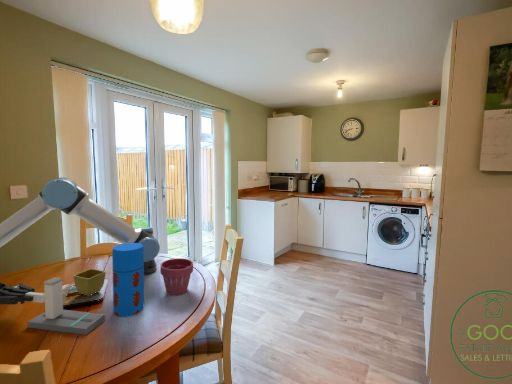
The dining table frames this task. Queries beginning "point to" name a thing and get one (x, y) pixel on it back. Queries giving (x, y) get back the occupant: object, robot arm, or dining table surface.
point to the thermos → (128, 279)
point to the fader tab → (53, 297)
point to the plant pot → (176, 275)
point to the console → (68, 322)
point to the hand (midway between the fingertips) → (43, 298)
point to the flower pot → (89, 281)
